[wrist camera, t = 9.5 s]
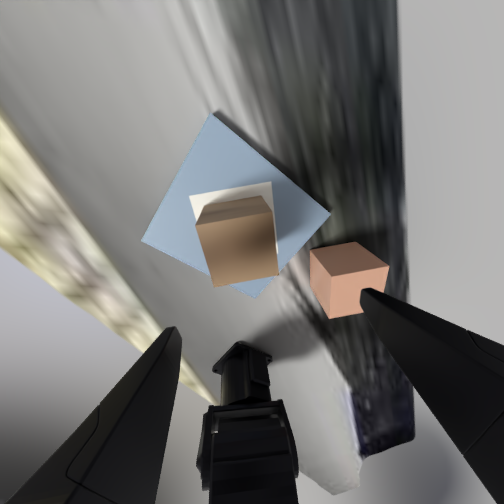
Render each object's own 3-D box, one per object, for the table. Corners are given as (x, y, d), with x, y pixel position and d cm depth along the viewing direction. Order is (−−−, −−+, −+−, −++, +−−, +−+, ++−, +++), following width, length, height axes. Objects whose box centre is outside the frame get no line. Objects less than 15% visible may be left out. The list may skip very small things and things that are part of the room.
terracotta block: (351, 278, 23) (379, 309, 19) (310, 286, 23) (329, 318, 19) (355, 241, 21) (389, 265, 16) (309, 249, 21) (331, 276, 16)
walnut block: (267, 246, 19) (279, 275, 15) (217, 255, 19) (214, 287, 15) (261, 195, 17) (272, 211, 12) (204, 205, 17) (195, 225, 12)
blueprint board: (254, 295, 23) (255, 298, 22) (143, 238, 18) (140, 241, 18) (328, 212, 19) (331, 214, 18) (210, 113, 14) (210, 112, 14)
